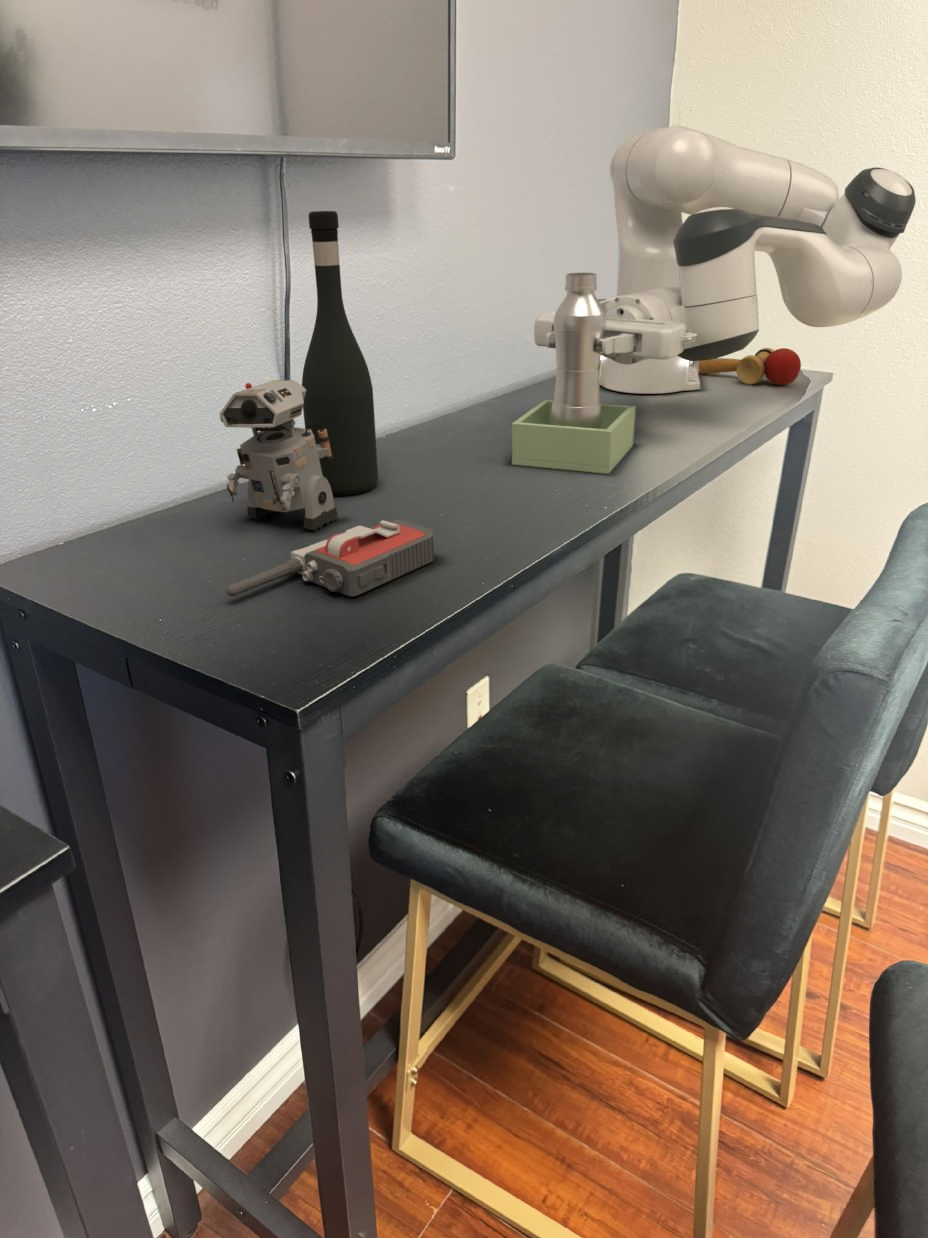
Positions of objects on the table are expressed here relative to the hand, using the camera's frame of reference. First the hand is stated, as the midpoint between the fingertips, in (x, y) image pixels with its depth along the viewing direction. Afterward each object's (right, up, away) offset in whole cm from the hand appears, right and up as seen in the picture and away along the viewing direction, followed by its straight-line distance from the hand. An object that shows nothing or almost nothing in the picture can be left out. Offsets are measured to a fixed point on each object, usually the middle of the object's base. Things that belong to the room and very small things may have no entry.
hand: (574, 343), depth 111 cm
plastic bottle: (+1, -11, +6) cm, 12 cm away
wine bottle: (-28, -18, -4) cm, 34 cm away
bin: (+1, -12, +7) cm, 14 cm away
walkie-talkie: (-25, -30, -28) cm, 48 cm away
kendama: (+36, +8, +46) cm, 59 cm away
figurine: (-33, -24, -15) cm, 44 cm away
